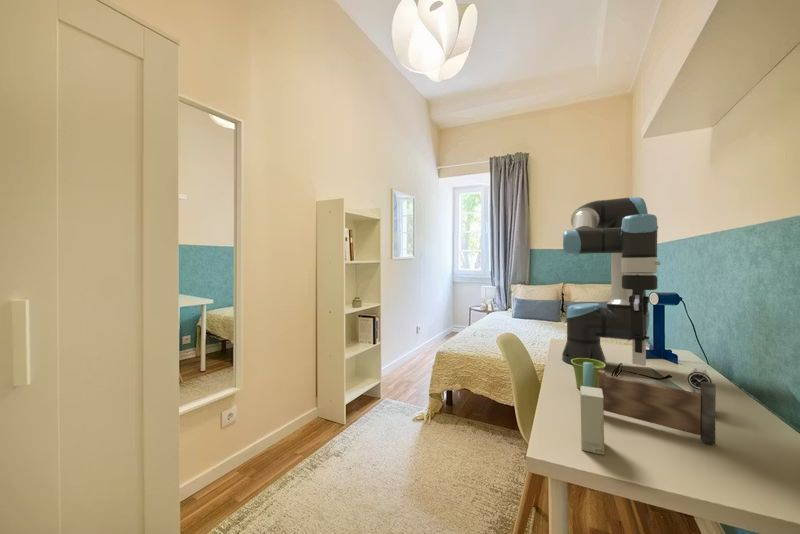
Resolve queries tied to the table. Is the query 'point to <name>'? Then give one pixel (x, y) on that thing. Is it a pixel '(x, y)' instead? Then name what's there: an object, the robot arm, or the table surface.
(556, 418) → the table surface
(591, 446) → the skincare box
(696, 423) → the gate
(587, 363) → the post
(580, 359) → the plant pot
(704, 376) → the watch
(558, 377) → the table surface
